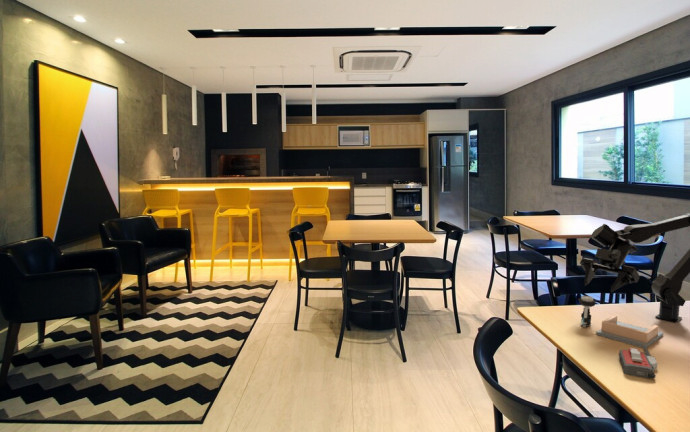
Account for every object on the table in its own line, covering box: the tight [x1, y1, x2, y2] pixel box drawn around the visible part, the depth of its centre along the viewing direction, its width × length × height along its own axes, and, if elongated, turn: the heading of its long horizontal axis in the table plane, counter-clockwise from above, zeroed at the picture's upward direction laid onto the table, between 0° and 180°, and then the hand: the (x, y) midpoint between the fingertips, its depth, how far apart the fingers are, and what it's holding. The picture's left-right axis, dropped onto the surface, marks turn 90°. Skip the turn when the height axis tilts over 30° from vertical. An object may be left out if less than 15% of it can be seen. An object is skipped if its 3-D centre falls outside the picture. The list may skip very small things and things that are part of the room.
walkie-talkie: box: [618, 347, 658, 379], centre depth 120 cm, size 9×4×20 cm
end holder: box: [595, 314, 664, 349], centre depth 140 cm, size 16×14×4 cm
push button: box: [578, 295, 597, 328], centre depth 149 cm, size 7×5×10 cm
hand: (597, 288), depth 152 cm, fingers open, 9 cm apart
